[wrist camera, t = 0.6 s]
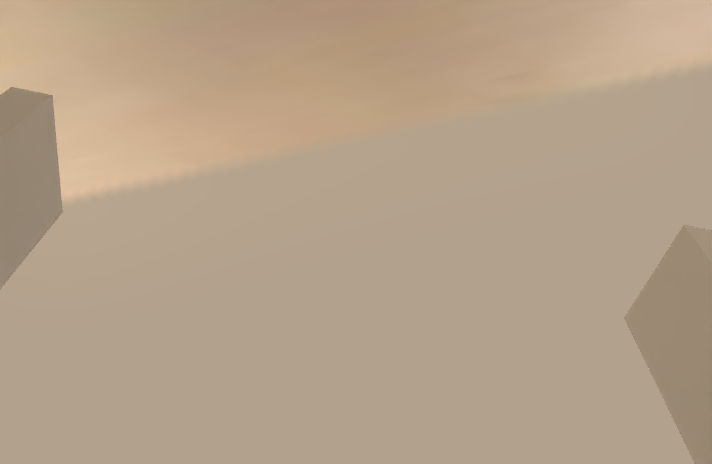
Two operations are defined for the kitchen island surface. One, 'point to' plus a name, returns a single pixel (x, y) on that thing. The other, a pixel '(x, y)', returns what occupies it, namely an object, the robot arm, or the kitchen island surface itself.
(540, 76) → the kitchen island surface
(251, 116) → the kitchen island surface
